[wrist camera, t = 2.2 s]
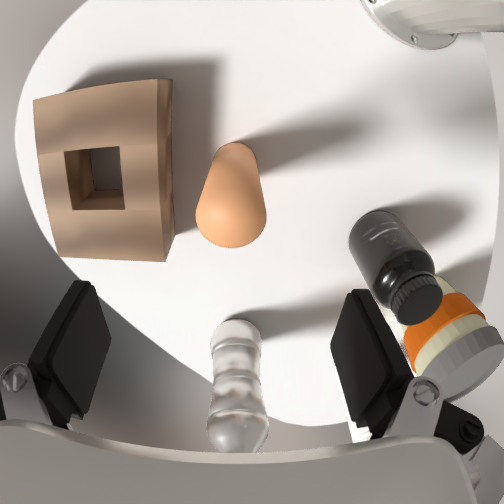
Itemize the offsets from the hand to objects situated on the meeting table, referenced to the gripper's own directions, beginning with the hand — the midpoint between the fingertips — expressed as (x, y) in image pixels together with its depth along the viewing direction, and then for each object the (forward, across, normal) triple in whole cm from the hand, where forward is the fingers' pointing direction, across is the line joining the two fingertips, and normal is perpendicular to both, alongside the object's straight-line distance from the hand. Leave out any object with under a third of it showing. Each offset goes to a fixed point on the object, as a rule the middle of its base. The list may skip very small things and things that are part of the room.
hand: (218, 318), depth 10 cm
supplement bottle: (+20, -16, +6) cm, 26 cm away
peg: (+20, 0, -1) cm, 20 cm away
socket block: (+20, +12, -1) cm, 23 cm away
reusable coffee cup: (+20, -28, +16) cm, 38 cm away
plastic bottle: (+20, -2, +21) cm, 29 cm away
